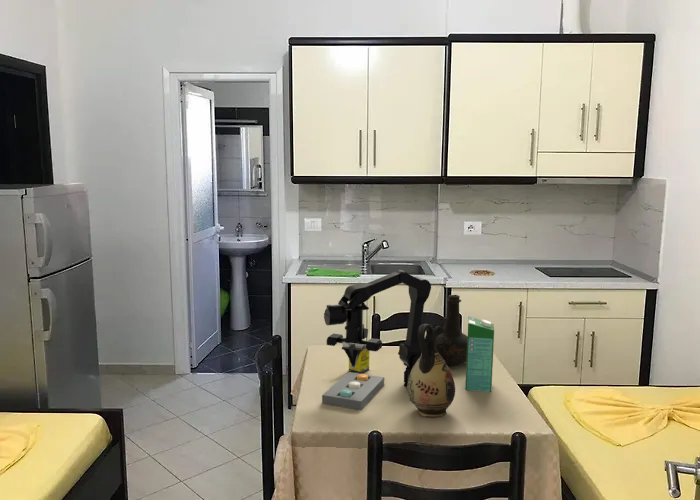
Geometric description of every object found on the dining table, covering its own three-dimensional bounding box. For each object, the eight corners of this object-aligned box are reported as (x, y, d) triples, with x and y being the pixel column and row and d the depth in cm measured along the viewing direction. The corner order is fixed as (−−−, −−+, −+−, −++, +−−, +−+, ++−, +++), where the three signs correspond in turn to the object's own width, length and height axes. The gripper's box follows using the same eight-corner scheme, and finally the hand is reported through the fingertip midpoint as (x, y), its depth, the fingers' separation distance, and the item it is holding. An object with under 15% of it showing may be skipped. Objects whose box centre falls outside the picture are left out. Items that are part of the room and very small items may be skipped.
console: (384, 385, 219) (384, 377, 219) (361, 410, 197) (361, 401, 197) (348, 379, 224) (348, 371, 224) (322, 403, 202) (322, 395, 202)
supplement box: (360, 374, 230) (361, 346, 229) (348, 370, 234) (348, 343, 232) (369, 369, 235) (370, 342, 233) (357, 366, 238) (357, 340, 237)
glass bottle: (419, 361, 245) (421, 294, 241) (447, 352, 257) (449, 288, 253) (454, 373, 232) (456, 302, 228) (481, 363, 244) (484, 295, 239)
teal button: (353, 400, 204) (353, 390, 204) (349, 404, 201) (349, 394, 200) (342, 398, 206) (342, 388, 205) (338, 402, 202) (338, 392, 202)
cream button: (361, 391, 212) (361, 382, 211) (357, 395, 208) (357, 386, 208) (351, 390, 213) (351, 380, 213) (347, 394, 209) (347, 384, 209)
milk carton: (491, 392, 213) (494, 324, 210) (465, 390, 215) (468, 322, 211) (490, 383, 222) (493, 317, 218) (465, 381, 224) (468, 315, 220)
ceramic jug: (423, 398, 207) (425, 314, 203) (462, 410, 198) (466, 322, 193) (394, 414, 194) (396, 324, 190) (435, 428, 185) (438, 333, 180)
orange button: (369, 384, 219) (369, 375, 219) (365, 387, 215) (365, 378, 215) (359, 382, 221) (359, 373, 220) (355, 386, 217) (355, 377, 216)
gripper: (387, 319, 211) (386, 362, 214) (338, 314, 218) (337, 355, 220) (377, 327, 201) (376, 372, 203) (326, 321, 208) (325, 365, 210)
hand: (353, 366), depth 210 cm, fingers closed
